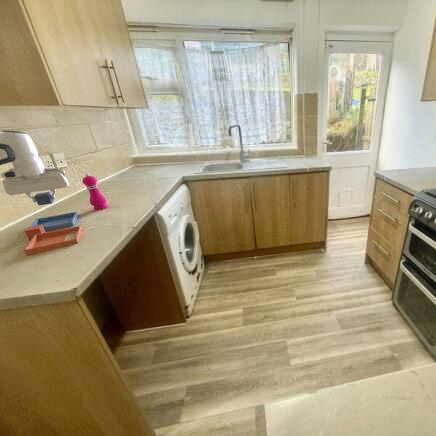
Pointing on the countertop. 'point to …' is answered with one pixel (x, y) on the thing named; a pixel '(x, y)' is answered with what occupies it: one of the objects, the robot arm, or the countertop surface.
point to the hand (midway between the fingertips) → (45, 200)
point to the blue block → (43, 198)
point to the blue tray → (56, 221)
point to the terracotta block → (34, 231)
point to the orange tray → (52, 240)
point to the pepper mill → (94, 193)
